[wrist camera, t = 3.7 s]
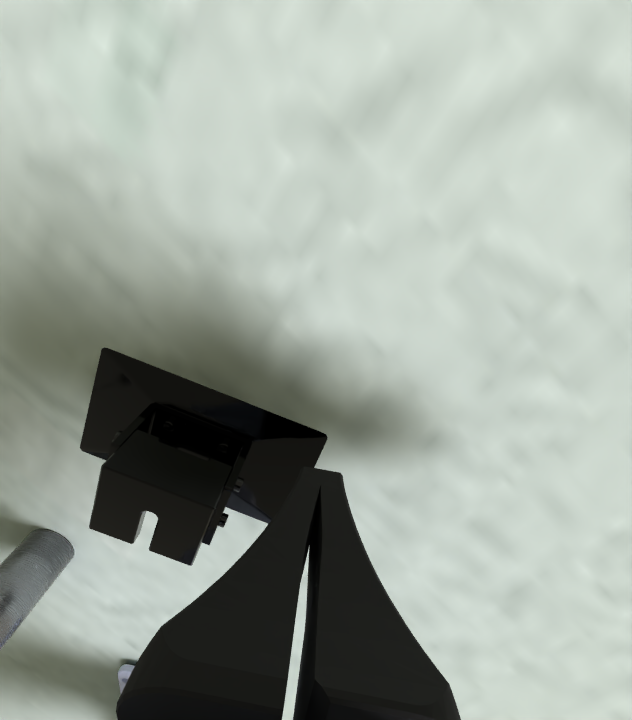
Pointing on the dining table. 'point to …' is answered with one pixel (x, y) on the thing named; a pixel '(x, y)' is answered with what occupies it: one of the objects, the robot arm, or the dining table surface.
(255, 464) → the build plate
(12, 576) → the pin
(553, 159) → the dining table surface
